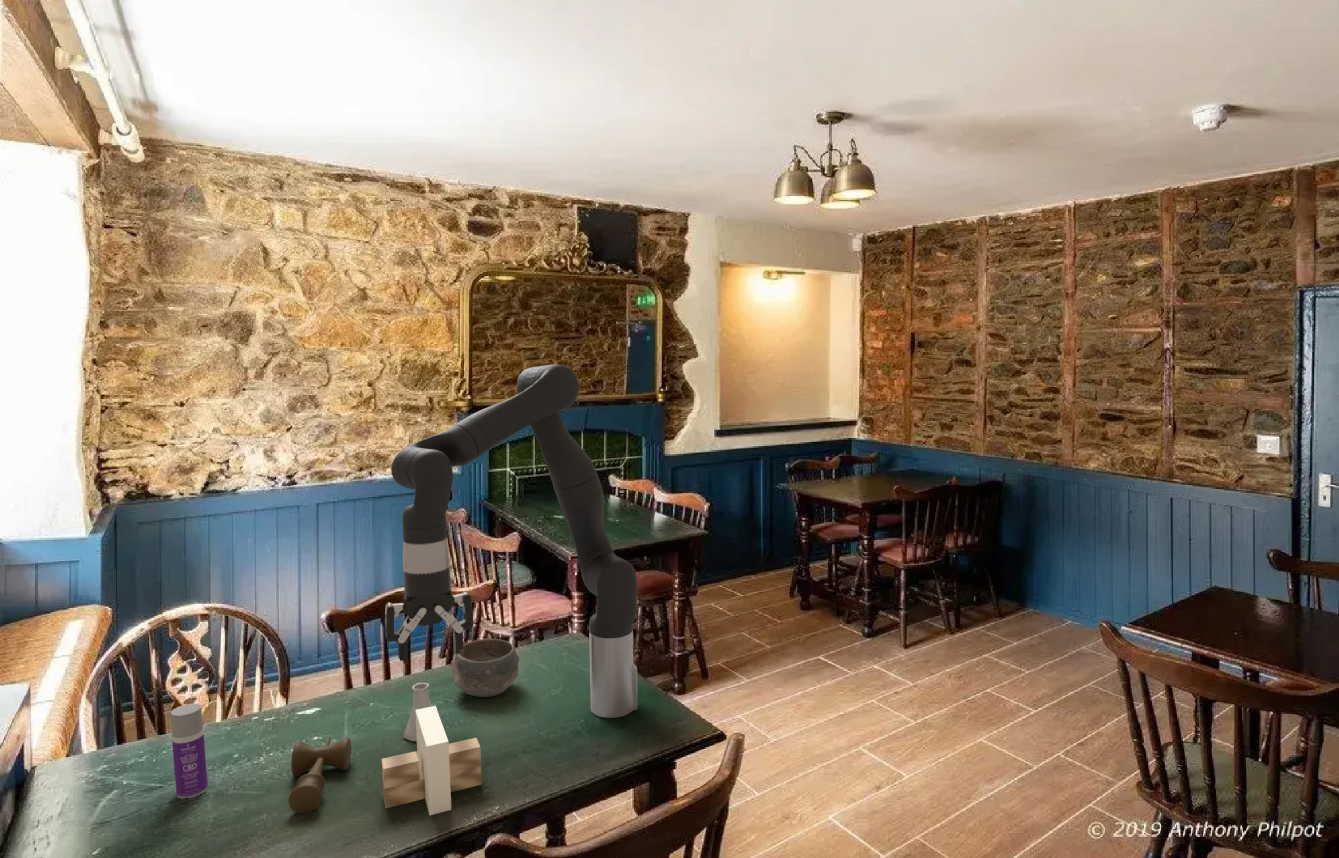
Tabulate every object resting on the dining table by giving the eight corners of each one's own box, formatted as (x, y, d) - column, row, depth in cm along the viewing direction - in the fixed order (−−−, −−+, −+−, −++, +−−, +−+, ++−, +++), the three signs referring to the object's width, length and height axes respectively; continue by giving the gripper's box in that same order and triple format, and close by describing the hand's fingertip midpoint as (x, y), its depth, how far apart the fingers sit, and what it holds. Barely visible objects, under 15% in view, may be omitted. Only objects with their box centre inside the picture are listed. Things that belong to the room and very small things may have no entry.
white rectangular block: (418, 772, 137) (415, 709, 135) (438, 768, 138) (435, 705, 137) (429, 815, 124) (426, 746, 123) (451, 809, 126) (448, 741, 124)
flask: (430, 744, 146) (427, 695, 145) (396, 741, 148) (394, 692, 147) (448, 726, 154) (446, 679, 152) (415, 723, 155) (413, 676, 154)
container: (184, 802, 128) (178, 718, 127) (171, 793, 131) (164, 711, 129) (213, 788, 132) (207, 707, 131) (199, 780, 135) (193, 700, 133)
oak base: (477, 774, 136) (476, 737, 135) (481, 784, 133) (480, 746, 132) (383, 797, 129) (381, 758, 128) (385, 808, 126) (383, 768, 125)
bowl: (467, 676, 177) (466, 635, 176) (530, 679, 175) (529, 638, 174) (441, 704, 163) (440, 659, 162) (510, 708, 161) (508, 663, 160)
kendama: (272, 821, 124) (302, 754, 143) (335, 814, 126) (356, 749, 145) (271, 787, 123) (301, 725, 142) (334, 781, 125) (356, 720, 144)
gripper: (465, 554, 134) (469, 642, 135) (379, 565, 127) (385, 657, 129) (473, 565, 127) (477, 657, 129) (384, 577, 121) (389, 673, 123)
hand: (431, 657), depth 129 cm, fingers open, 8 cm apart
